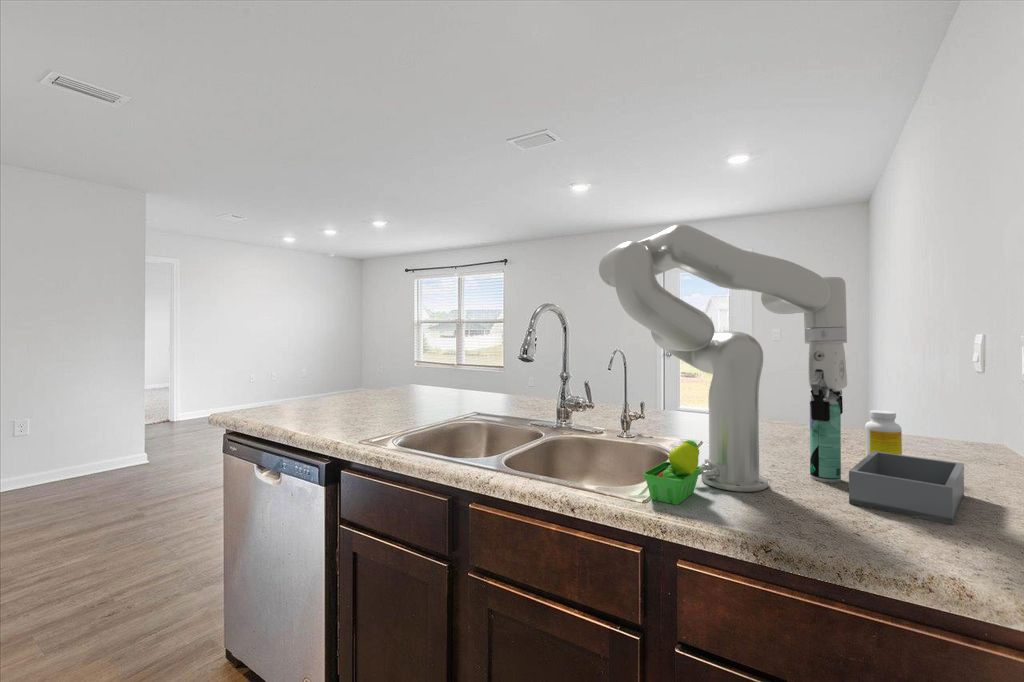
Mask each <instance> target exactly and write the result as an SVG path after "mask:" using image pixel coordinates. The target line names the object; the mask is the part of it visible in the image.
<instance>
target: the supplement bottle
mask: <svg viewBox="0 0 1024 682" xmlns="http://www.w3.org/2000/svg"><path fill="white" fill-rule="evenodd" d="M869 416H870V418H871V419H870V421H867V422H866V423H865V425H864V458H865V457H866V456H868V455H869V454H870V453H871V452H872V451H877V452H885V453H892V454H899V455H903V454H902V453H903V451H902V450H903V449H902V448H903V447H902V446H903V445H902V443H903V441H902V438H903V436H902V435H903V433H902V426H900V425H899V423H897V422H895V420H896V418H897V413H896V412H895V411H891V410H882V409H878V410H877V409H876V410H875V409H873V410H872V409H871V410H870V411H869Z"/></svg>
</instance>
